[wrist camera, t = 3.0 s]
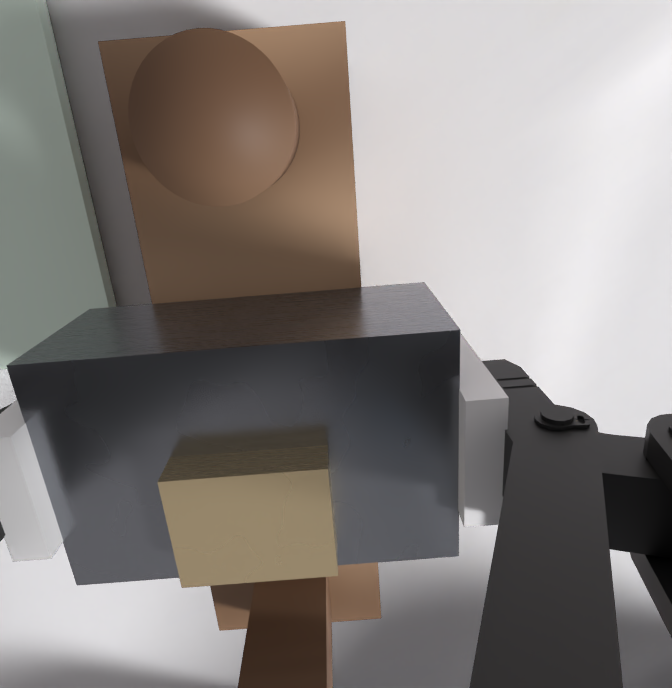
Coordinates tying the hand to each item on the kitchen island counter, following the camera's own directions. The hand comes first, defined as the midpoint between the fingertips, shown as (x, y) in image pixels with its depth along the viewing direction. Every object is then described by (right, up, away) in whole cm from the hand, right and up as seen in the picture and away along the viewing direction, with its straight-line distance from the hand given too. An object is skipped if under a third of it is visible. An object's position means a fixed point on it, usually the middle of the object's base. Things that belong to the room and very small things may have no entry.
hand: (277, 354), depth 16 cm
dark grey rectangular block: (0, -1, -2) cm, 2 cm away
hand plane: (0, +1, +2) cm, 3 cm away
